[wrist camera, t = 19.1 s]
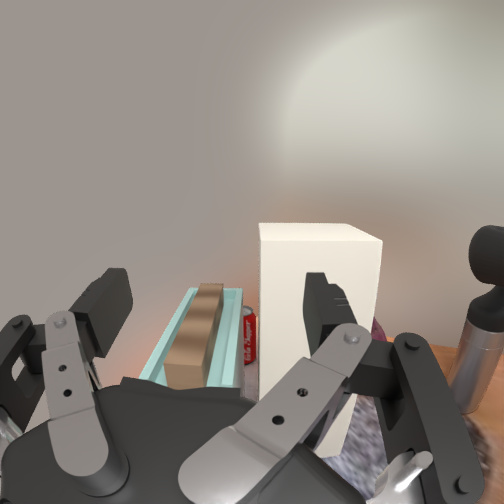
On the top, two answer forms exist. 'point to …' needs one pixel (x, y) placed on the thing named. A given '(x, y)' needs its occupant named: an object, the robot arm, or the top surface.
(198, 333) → the tan block
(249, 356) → the soda can
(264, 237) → the cream box stand
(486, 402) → the top surface
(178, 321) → the teal tray
